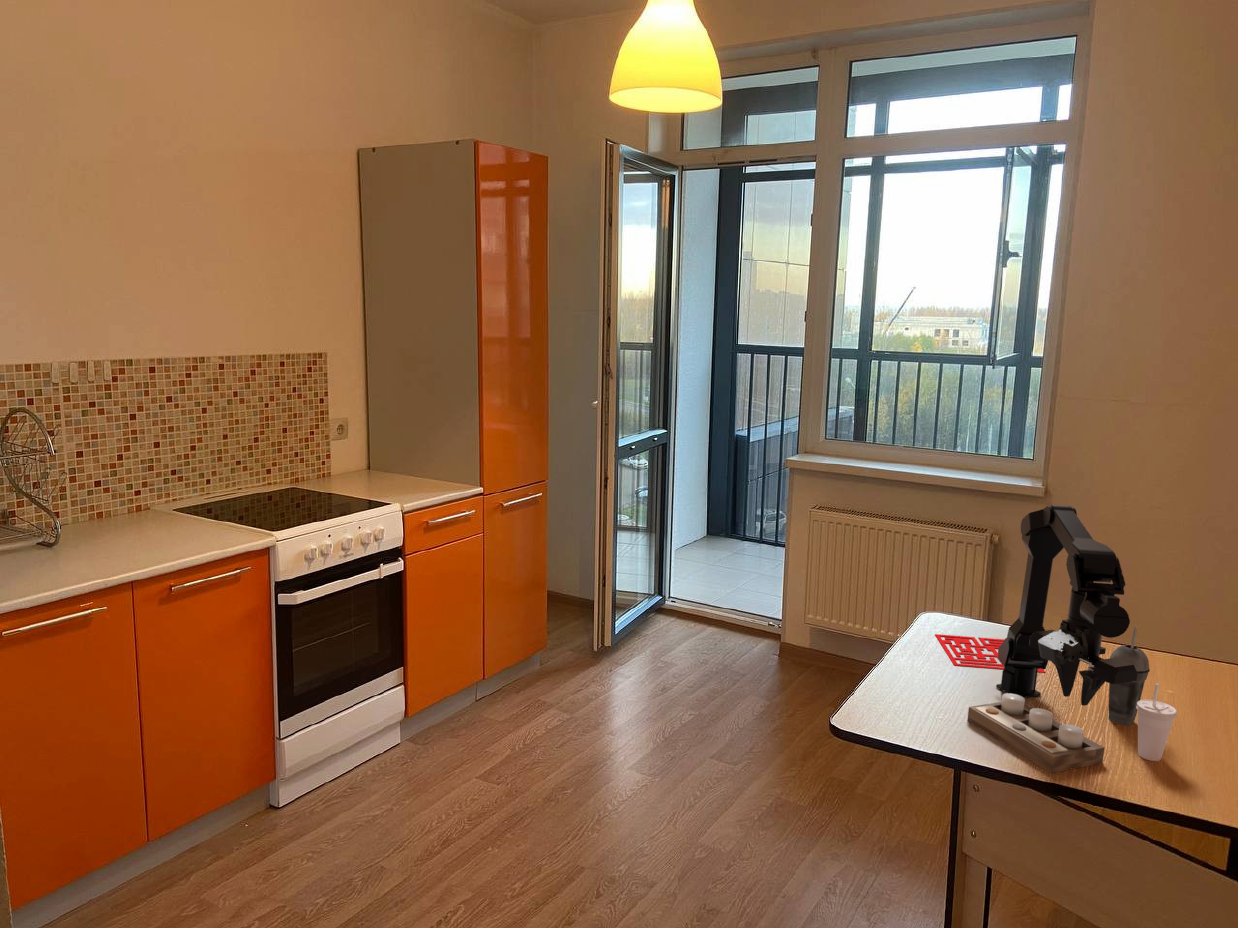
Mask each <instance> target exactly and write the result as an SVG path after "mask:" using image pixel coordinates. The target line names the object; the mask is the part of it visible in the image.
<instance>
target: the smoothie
mask: <svg viewBox="0 0 1238 928" xmlns="http://www.w3.org/2000/svg"><path fill="white" fill-rule="evenodd" d="M1159 686H1160V684H1159V683H1155V684H1154V692H1153V698H1152V699H1140V701H1138V702H1137V706H1136V708H1137V710H1138V711H1137V754H1138V756H1139V757H1141V758H1142V759H1145V760H1148V761H1153V762H1160V761H1161V760H1162V758H1163V754H1164V751H1165V748H1166V744H1167V741H1168V738H1169V735H1170V732H1171V728H1172V725H1173V721H1174V719H1176V718H1177V711H1178V710H1177V709H1176V708H1175V707H1174V706H1173V705H1172V706H1171V704H1168V703H1165V702H1163V701H1159V700H1158V695H1159V688H1160V687H1159Z"/></svg>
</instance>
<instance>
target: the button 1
mask: <svg viewBox="0 0 1238 928" xmlns="http://www.w3.org/2000/svg"><path fill="white" fill-rule="evenodd" d="M1001 697H1002V698H1001V702H1002V705H1001V711H1003V712H1004V713H1006V714H1008V715H1010V716H1020V715H1023V710H1024V704H1025V701H1026V698H1023V697H1022V696H1019V695H1016V694H1011V693H1006V692H1005V693H1003V694H1002V696H1001Z"/></svg>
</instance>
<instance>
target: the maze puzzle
mask: <svg viewBox="0 0 1238 928" xmlns="http://www.w3.org/2000/svg"><path fill="white" fill-rule="evenodd" d="M934 636H935V638H936V639H937V641H938V642H939V644H940V646H941V647H942V649H943V650H944V652H945V654H946V656H947V657H948V659H949V660H950V662H951V663H952V664H953V666H954V667H963V668H965V667H967V668H976V669H978V668H979V669H988V670H990V669H991V670H1002V671H1003V670H1004V665H1003V664H1002V663H1001V662H1000V660H999V659H998V648H999V647H1000V645H1001V644H1002V643H1003V641H1004V640H1005V638H1004V639H1003V638H989V637H978V639H977V638H976V637H975V636H966V635H965V636H963V635H953V634H952V635H950V634H938V633H935V634H934ZM943 638H944V639H943ZM970 640H971V641H972V642H973V644H972V642H971V641H970ZM978 640H979V641H978ZM952 641H953V642H954V644H953V642H952ZM986 641H988V643H987V642H986ZM980 642H981V643H980ZM962 644H963V645H964V647H963V646H962ZM981 644H982V645H981ZM947 645H948V646H949V647H950V649H951V651H952V652H953V654H954V655H953V654H952V652H951V651H950V649H949V648H948V646H947ZM957 648H958V649H959V651H958V650H957ZM972 648H974V650H975V652H974V650H973V649H972ZM985 650H986V651H987V652H992V653H993V654H989V653H983V652H985ZM982 651H983V652H982ZM962 656H963V657H962ZM974 656H975V657H976V658H975V657H974ZM986 657H987V658H989V659H987V658H986ZM995 658H997V660H998V661H999V662H1000V663H998V661H997V660H996V659H995ZM957 661H959V663H958V662H957ZM1037 673H1040V674H1046V670H1045V669H1038V672H1037Z"/></svg>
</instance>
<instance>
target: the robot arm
mask: <svg viewBox="0 0 1238 928" xmlns="http://www.w3.org/2000/svg"><path fill="white" fill-rule="evenodd" d="M1020 533H1021V540H1022V543H1023V545H1024V547H1025V549H1026V551H1027V558H1026V566H1025V572H1024V573H1025V574H1024V581H1023V586H1022V592H1021V593H1022V594H1021V601H1020V606H1019V607H1020V608H1019V615H1018V618H1017V619H1016V620H1015V621H1014V622H1013V623H1012V624H1011V625H1010V626H1009V627H1008V631H1007V635H1006V638H1004V639H1005V640H1004V641H1003V643H1002V644H1001V645H1000V647H999V648H998V649H997V652H998V659H999V660H1000V661H999V660H998V659H997V660H998V661H999V662H1000V664H1001V663H1002V664H1003V665H1004V670H1002V674H1001V680H1000V683H997V684H995V685H996V686H995V687H996V688H997V689H998V690H999V689H1000V690H1001V691H1003V692H1004V693H1005V694H1006V693H1011V694H1016V695H1019V696H1022V697H1023V698H1024V699H1026V698H1033V697H1038V696H1039V697H1041V695H1042V693H1041V691H1038V690H1036V687H1037V679H1038V673H1039V672H1038V670H1039V669H1043V670H1046V668H1047V666H1048V663H1049V661H1050V662H1051V663H1052V664H1053V665H1054V666H1055V669H1056V671H1057V675H1058V680H1059V683H1060V686H1061V691H1062V695H1063V697H1065V698H1066V697H1067V698H1068V697H1070V696H1071V693H1072V691H1073V687H1074V684H1075V681H1076V677H1077V673H1079V675H1080V676H1081V678H1082V684H1081V685H1082V687H1081V692H1080V693H1081V694H1080V695H1081V696H1080V705H1081V706H1082V707H1083V706H1084V707H1085V706H1087V705H1088V704H1090V702H1091V701H1092V700H1093V698H1094V697H1095V695H1096V694H1097V693H1098V691H1099V690H1100V689H1101V687H1102V686H1103V685H1104V684H1105V683H1108V684H1109V683H1111V684H1118V683H1125V682H1132V681H1136V680H1137V673H1138V671H1137V668H1136V667H1135V665H1134V664H1131V663H1129V662H1127V661H1124V660H1122V659H1120V658H1110V657H1109V658H1103V657H1100V655H1105V654H1106V650H1107V648H1106V647H1103V646H1102V641H1103V640H1102V639H1103V637H1105V638H1110V639H1113V638H1117V637H1120V636H1121V635H1123V634H1124V633H1125V632H1126V631H1127V630H1128V629H1129V626H1130V624H1131V623H1130V621H1131V619H1130V616H1129V613H1128V611H1127V610H1126V609H1125V608H1123V607H1122V606H1121V605H1120V600H1121V599H1120V598H1119V597H1118V596H1116V595H1119V596H1124V595H1125V590H1124V589H1125V586H1126V585H1127V584H1126V580H1125V577H1124V573H1123V570H1122V565H1121V562H1120V559H1119V558H1118V557H1117V555H1116V553H1115V551H1114V550H1112V549H1111V548H1110V547H1109V546H1108V545H1107V544H1104V543H1101V542H1098V541H1096V540H1095V539H1094V538H1093V537H1092V535H1091V534H1090V532H1089V531H1088V530H1087V528H1086V527H1085V526H1084V523H1083V522H1082V521H1081V520H1080V518H1079V517H1078V513H1077V510H1076V508H1075V507H1072V506H1071V505H1059V504H1057V505H1056V504H1050V505H1047V506H1045V507H1044V508H1043V509H1042V508H1041V509H1039V510H1036V511H1035V510H1034V511H1032V512H1029V513H1028V514H1026V515H1025V516H1024V517H1023V518H1022V520H1021V522H1020ZM1063 550H1065V552H1066V554H1067V555H1068V556H1067V558H1066V565H1065V566H1066V570H1067V573H1068V576H1069V585H1070V587H1071V590H1070V597H1069V605H1068V612H1067V613H1068V614H1067V619H1062V620H1061V622H1060V626H1059V629H1058V630H1055V629H1047V630H1046V629H1045V627H1044V620H1045V616H1046V615H1045V612H1046V608H1047V602H1048V593H1049V586H1050V582H1051V576H1052V575H1051V574H1052V570H1053V569H1052V567H1053V563H1054V562H1053V561H1054V559H1055V558H1056V557H1057V556H1058V555H1059V554H1060V553H1061V552H1062V551H1063ZM1111 582H1112V583H1111ZM1080 662H1082V663H1085V664H1087V665H1088V667H1087V669H1086V670H1079V667H1080ZM1078 670H1079V671H1078Z"/></svg>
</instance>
